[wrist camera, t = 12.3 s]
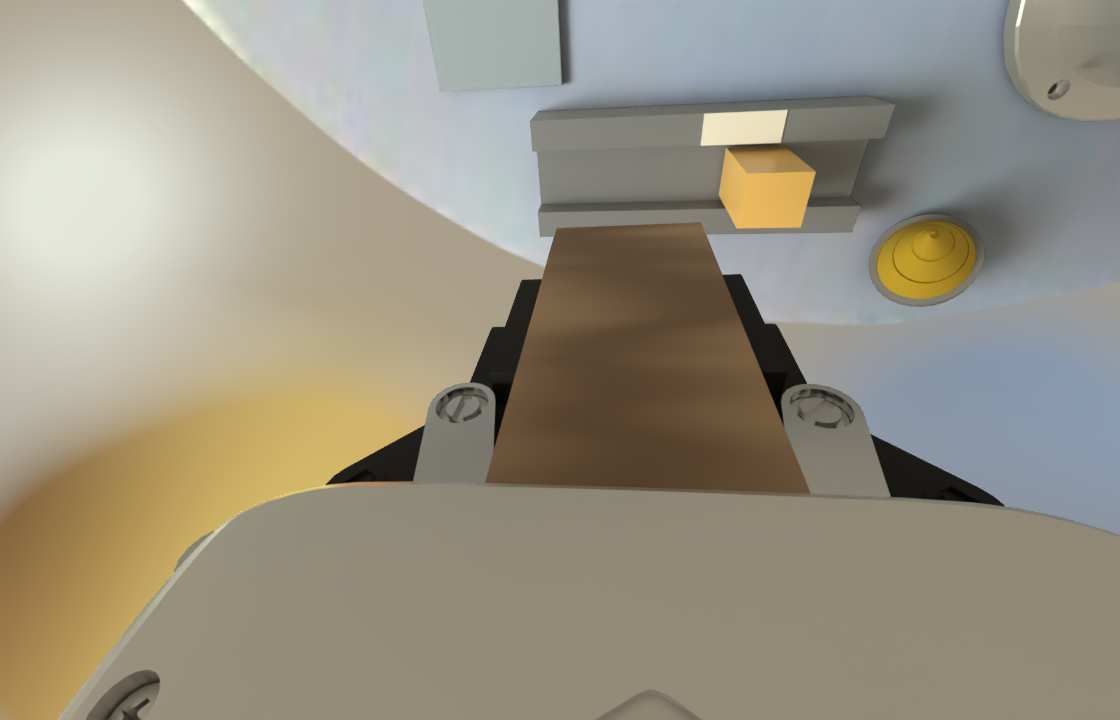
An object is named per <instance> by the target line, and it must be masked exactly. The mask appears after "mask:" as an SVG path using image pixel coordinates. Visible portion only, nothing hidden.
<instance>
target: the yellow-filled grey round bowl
mask: <svg viewBox="0 0 1120 720" xmlns="http://www.w3.org/2000/svg"><path fill="white" fill-rule="evenodd" d="M984 257H985V251H984V244H983V242H982V240H981V237H980V236H979V234H978V233H977V232H976V230H975V229H974V228H973V227H971V226H970V225H969V224H968V223H966V222H964V221H962V220H960V219H958V218H955V217H952V216H948V215H940V214H928V215H921V216H916V217H912V218H909V219H907V220H904V221H902V222H900V223H898V224H896V225H894V226H893V227H891V228H890V229H889V230H888V231H886V232H885V233H884V234H883V235H882V236H881V237H880V238H879V239H878V241H877V242H876V244H875V246H874V247H873V249H872V252H871V255H870V259H869V273H870V277H871V280H872V283H873V284H874V286H875V287H876V289H877V290H878V291H879V292H880V293H881V294H882V295H883V296H884V297H886V298H888V299H889V300H891V301H893V302H896V303H898V304H901V305H906V306H914V307H924V306H932V305H936V304H940V303H943V302H946V301H948V300H950V299H952V298H954V297H956V296H957V295H959V294H960V293H962V292H963V291H964V290H965V289H967V288H968V287H969V286H970V285H971V284H972V283H973V282H974V280H975V279H976V277H977V276H978V275H979V273H980V271H981V268H982V266H983V263H984Z"/></svg>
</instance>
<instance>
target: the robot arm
mask: <svg viewBox="0 0 1120 720" xmlns="http://www.w3.org/2000/svg"><path fill="white" fill-rule="evenodd" d="M1003 46H1004V57H1005V65H1006V68H1007V71H1008V74H1009V76H1010V79H1011V82H1012V84H1013V86H1014V87H1015V88H1016V90H1017V91H1018V92H1019V93H1020V95H1021V96H1022V97H1023V98H1024V100H1025V101H1027V102H1028V103H1030V104H1031V105H1033V106H1034V107H1036V108H1038V109H1039V110H1041V111H1043V112H1046V113H1049V114H1053V115H1056V116H1059V117H1062V118H1068V119H1074V120H1079V121H1085V122H1092V121H1114V120H1119V119H1120V0H1010V2H1009V5H1008V8H1007V12H1006V20H1005V28H1004V36H1003ZM722 276H723V278H724V280H725V283H726V285H727V288H728V290H729V293H730V295H731V298H732V300H733V303H734V305H735V308H736V310H737V313H738V315H739V317H740V320H741V322H742V325H743V327H744V330H745V332H746V335H747V337H748V340H749V342H750V345H751V347H752V350H753V352H754V354H755V357H756V359H757V362H758V364H759V367H760V369H761V372H762V374H763V377H764V379H765V382H766V384H767V386H768V389H769V391H770V394H771V396H772V399H773V401H774V404H775V406H776V409H777V411H778V414H779V416H780V419H781V421H782V423H783V426H784V428H785V431H786V433H787V436H788V438H789V441H790V443H791V446H792V448H793V451H794V453H795V456H796V458H797V460H798V463H799V465H800V468H801V470H802V473H803V475H804V478H805V480H806V483H807V485H808V488H809V490H810V493H811V494H808V493H781V492H755V491H728V490H700V489H670V488H640V487H609V486H577V485H541V484H505V483H485V480H486V477H487V473H488V469H489V466H490V462H491V459H492V455H493V452H494V448H495V445H496V441H497V438H498V434H499V430H500V427H501V423H502V420H503V416H504V413H505V409H506V406H507V402H508V398H509V395H510V391H511V388H512V384H513V381H514V377H515V374H516V370H517V367H518V363H519V359H520V356H521V352H522V349H523V345H524V342H525V338H526V335H527V331H528V327H529V324H530V320H531V317H532V313H533V310H534V306H535V303H536V299H537V296H538V292H539V288H540V285H541V281H542V279H537V280H536V279H535V280H522V281H521V283H520V286H519V289H518V292H517V295H516V297H515V300H514V303H513V306H512V309H511V312H510V314H509V317H508V320H507V323H506V326H505V327H493V328H492V329H491V331H490V333H489V336H488V338H487V341H486V344H485V346H484V349H483V351H482V354H481V356H480V359H479V361H478V363H477V366H476V368H475V371H474V373H473V376H472V378H471V381H470V383H462V384H457V385H454V386H451V387H449V388H446V389H445V390H443V391H442V392H441V393H439V394H437V396H436V397H435V398H434V399H433V400H432V402H431V404H430V406H429V409H428V414H427V418H426V423H425V425H424V426H422V427H421V428H418V429H417V430H415V431H413V432H411V433H409V434H408V435H406V436H404V437H402V438H400V439H398V440H397V441H395V442H393V443H391V444H389V445H388V446H385V447H384V448H382V449H380V450H378V451H376V452H375V453H373V454H371V455H369V456H367V457H365V458H363V459H362V460H360V461H358V462H356V463H354V464H353V465H351V466H349V467H347V468H345V469H344V470H342V471H341V472H340V473H338V474H336V475H335V476H334V477H333V478H332V479H331V480H330V481H329V482H328V483H327V484H326V485H325V486H319V487H313V488H308V489H303V490H299V491H295V492H292V493H288V494H285V495H281V496H278V497H274V498H271V499H269V500H266V501H264V502H261V503H258V504H256V505H254V506H252V507H249V508H248V509H245V510H243V511H242V512H240V513H238V514H237V515H235V516H233V517H232V518H230V519H228V520H227V521H226V522H225V523H223V524H222V525H221V526H220V527H218V528H217V529H216V530H214V531H212V532H210V533H208V534H207V535H205V536H203V537H201V538H200V539H199V540H198V541H196V542H195V543H194V544H192V545H191V546H190V547H189V548H188V549H187V550H186V551H185V553H184V554H183V555H182V556H181V558H180V559H179V561H178V563H177V566H176V568H175V570H174V574H173V575H172V576H171V577H170V578H169V579H168V580H167V582H166V583H165V584H164V585H163V586H162V588H161V589H160V590H159V591H158V592H157V594H156V595H155V596H154V597H153V598H152V599H151V601H150V602H149V603H148V604H147V605H146V607H145V608H144V609H143V610H142V611H141V613H140V614H139V615H138V617H137V618H136V619H135V620H134V621H133V623H132V624H131V625H130V626H129V628H128V629H127V630H126V631H125V633H124V634H123V635H122V636H121V638H120V639H119V640H118V641H117V643H116V644H115V645H114V646H113V648H112V649H111V650H110V652H109V653H108V654H107V655H106V656H105V658H104V659H103V660H102V661H101V663H100V664H99V665H98V667H97V668H96V669H95V670H94V672H93V673H92V674H91V675H90V677H89V678H88V679H87V681H86V682H85V683H84V685H83V686H82V687H81V689H80V690H79V691H78V692H77V694H76V695H75V697H74V698H73V699H72V701H71V702H70V703H69V704H68V706H67V707H66V708H65V709H64V711H63V712H62V713H61V715H60V716H59V717H58V719H57V720H1120V535H1118V534H1115V533H1112V532H1110V531H1107V530H1103V529H1100V528H1097V527H1093V526H1090V525H1086V524H1083V523H1080V522H1076V521H1073V520H1069V519H1065V518H1063V517H1058V516H1053V515H1048V514H1044V513H1039V512H1034V511H1029V510H1024V509H1019V508H1012V507H1006V506H1004V505H1003V504H1002V503H1000V501H998V500H997V499H996V498H995V497H994V496H992V495H990V494H988V493H987V492H985V491H983V490H982V489H980V488H978V487H976V486H974V485H972V484H970V483H968V482H966V481H964V480H962V479H960V478H958V477H956V476H954V475H952V474H950V473H948V472H946V471H944V470H942V469H940V468H938V467H936V466H934V465H932V464H930V463H928V462H926V461H924V460H922V459H920V458H917V457H916V456H914V455H912V454H910V453H908V452H906V451H904V450H902V449H900V448H897V447H896V446H893V445H892V444H890V443H888V442H885V441H883V440H881V439H879V438H877V437H875V436H873V435H871V434H870V432H869V429H868V426H867V422H866V419H865V416H864V413H863V411H862V410H861V408H860V406H859V405H858V404H857V403H856V402H855V401H854V400H853V399H852V398H851V397H849V396H848V395H846V394H844V393H842V392H841V391H839V390H836V389H833V388H831V387H827V386H823V385H817V384H807V382H806V381H805V379H804V377H803V375H802V373H801V371H800V369H799V367H798V365H797V363H796V361H795V359H794V357H793V355H792V353H791V351H790V349H789V347H788V345H787V344H786V342H785V340H784V338H783V336H782V334H781V332H780V330H779V328H778V327H777V325H776V324H765V323H764V321H763V319H762V317H761V315H760V313H759V310H758V308H757V306H756V304H755V302H754V300H753V298H752V296H751V294H750V292H749V289H748V287H747V285H746V283H745V281H744V279H743V277H742V275H741V274H732V275H722Z"/></svg>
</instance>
